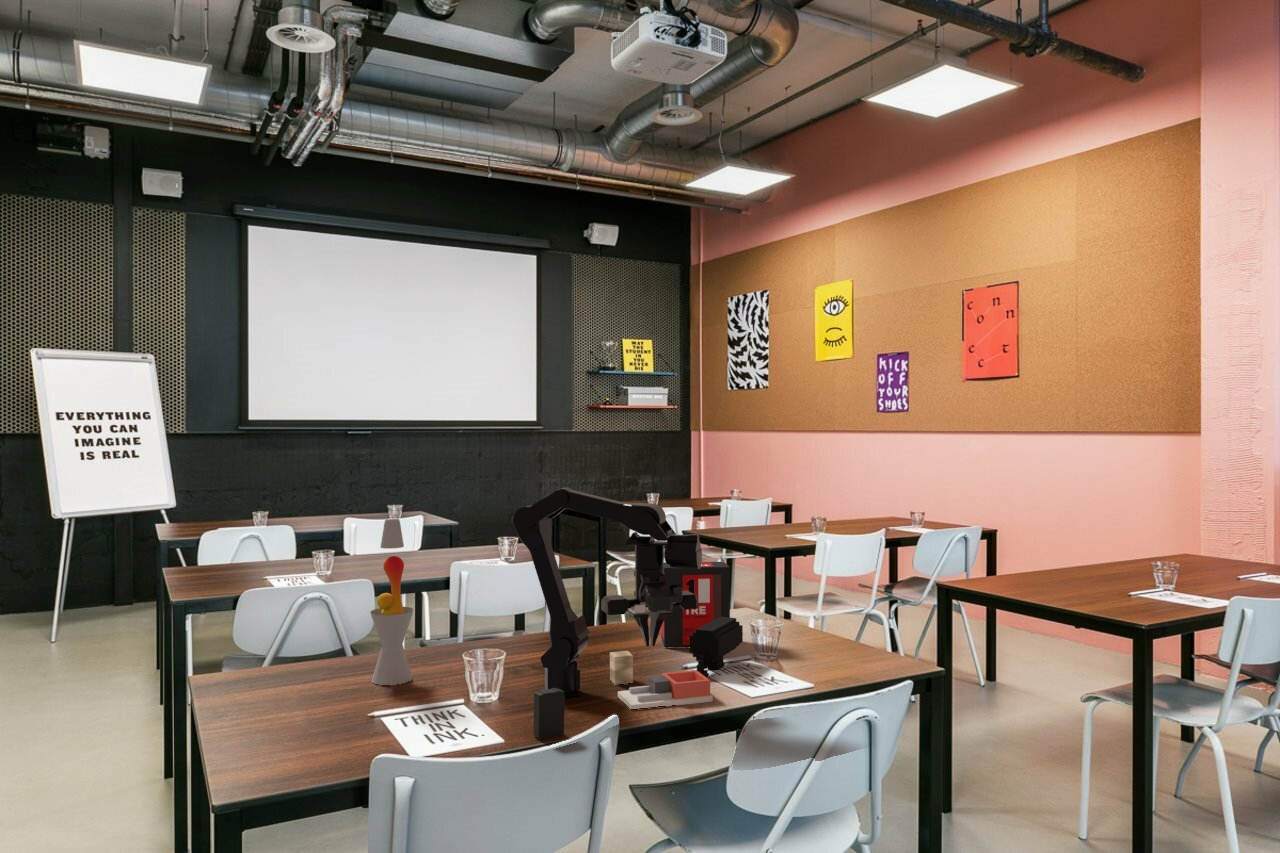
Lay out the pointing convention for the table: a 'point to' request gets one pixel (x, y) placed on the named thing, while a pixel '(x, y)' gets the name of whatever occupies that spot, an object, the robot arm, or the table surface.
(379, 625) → the lava lamp
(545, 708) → the ink cartridge
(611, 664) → the block
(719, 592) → the cleaning product box
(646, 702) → the slide switch base
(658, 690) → the toggle
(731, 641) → the security camera
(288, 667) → the table surface
